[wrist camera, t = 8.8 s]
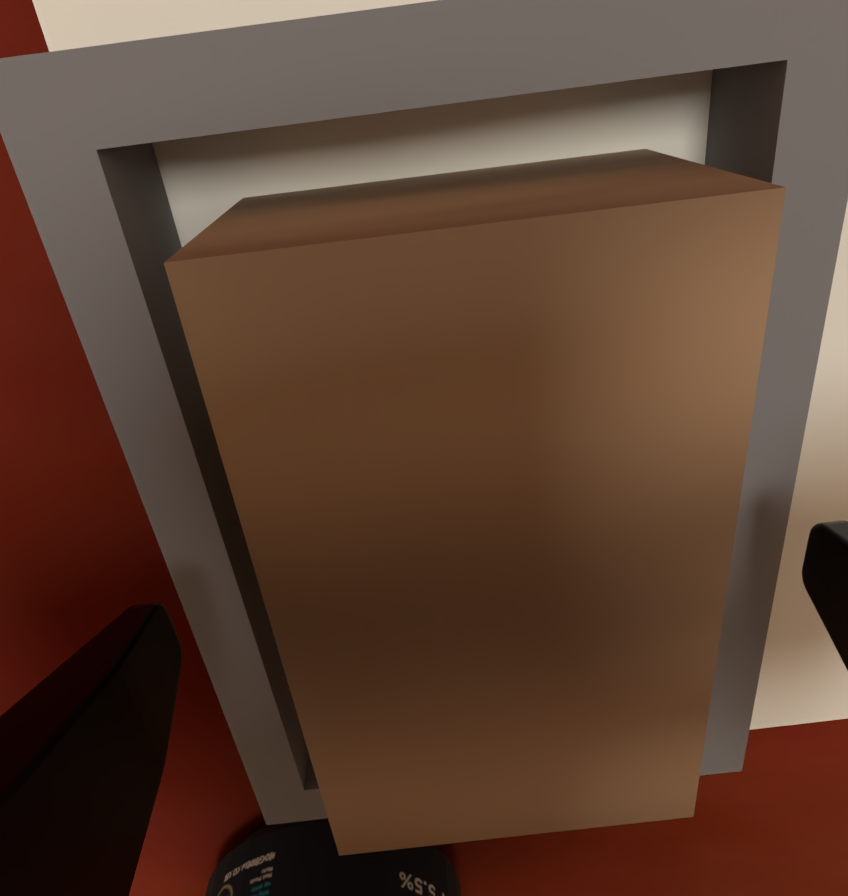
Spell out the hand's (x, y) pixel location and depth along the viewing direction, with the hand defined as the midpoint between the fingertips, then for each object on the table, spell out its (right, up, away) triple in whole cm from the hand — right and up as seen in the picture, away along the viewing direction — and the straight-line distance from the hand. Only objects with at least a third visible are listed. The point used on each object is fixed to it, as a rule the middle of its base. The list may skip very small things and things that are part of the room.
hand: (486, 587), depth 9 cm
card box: (0, +2, +3) cm, 4 cm away
